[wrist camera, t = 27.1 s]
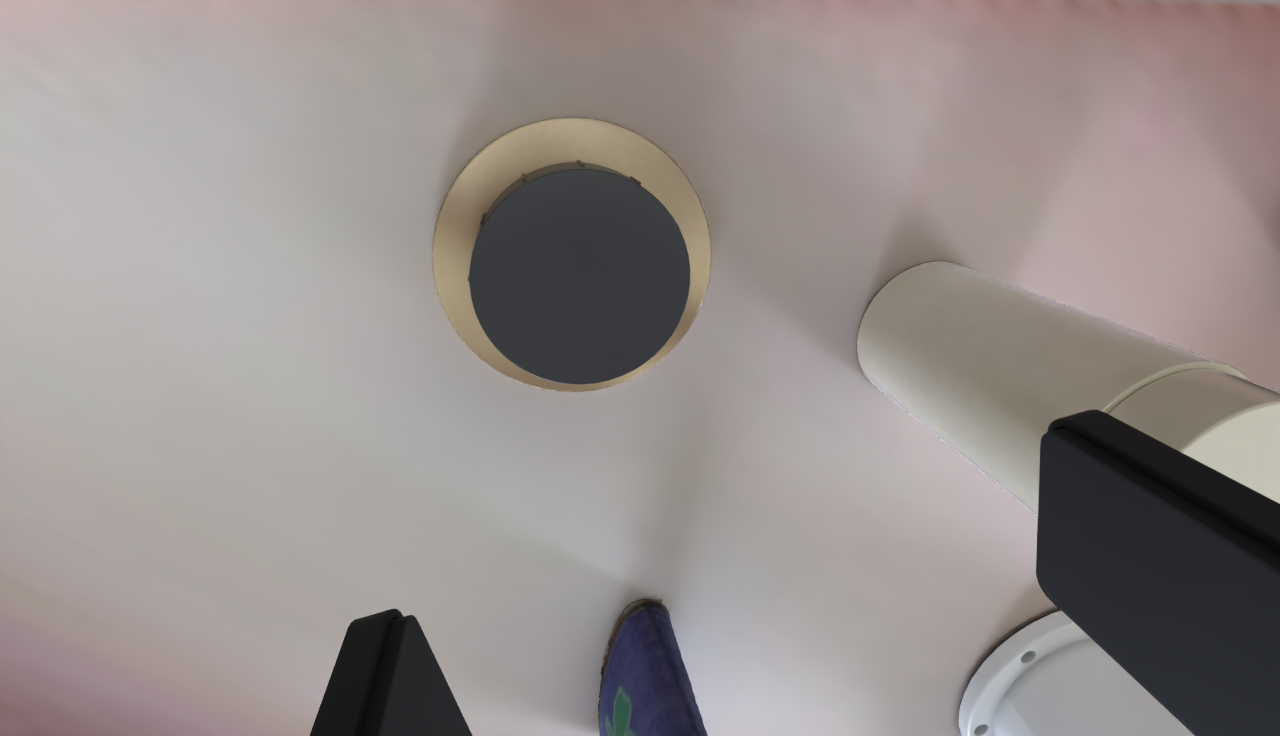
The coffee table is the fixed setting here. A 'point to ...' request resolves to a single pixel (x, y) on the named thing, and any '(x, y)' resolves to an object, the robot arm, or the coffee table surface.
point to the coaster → (536, 151)
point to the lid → (578, 273)
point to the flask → (646, 678)
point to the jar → (1052, 379)
